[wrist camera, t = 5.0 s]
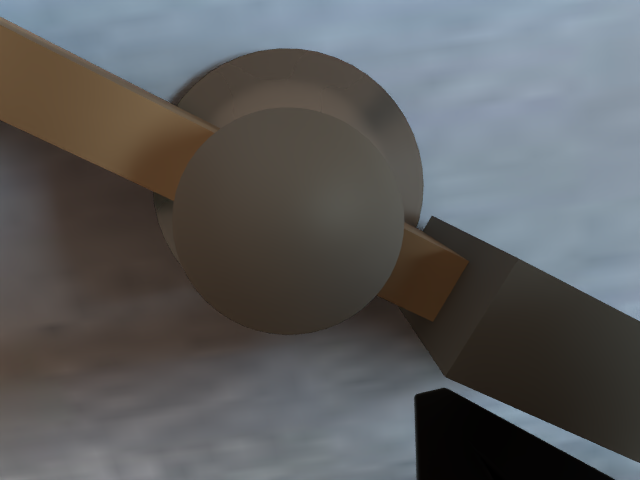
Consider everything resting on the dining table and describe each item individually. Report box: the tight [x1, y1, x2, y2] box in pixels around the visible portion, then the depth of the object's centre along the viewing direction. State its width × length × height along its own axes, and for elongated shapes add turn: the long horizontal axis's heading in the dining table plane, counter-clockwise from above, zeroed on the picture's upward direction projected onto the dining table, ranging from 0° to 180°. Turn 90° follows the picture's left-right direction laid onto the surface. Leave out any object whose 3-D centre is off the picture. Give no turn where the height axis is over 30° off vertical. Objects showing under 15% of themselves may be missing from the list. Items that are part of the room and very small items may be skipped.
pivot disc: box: [153, 49, 423, 268], centre depth 9 cm, size 6×6×1 cm
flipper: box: [0, 17, 640, 463], centre depth 6 cm, size 22×3×4 cm, turn 63°
